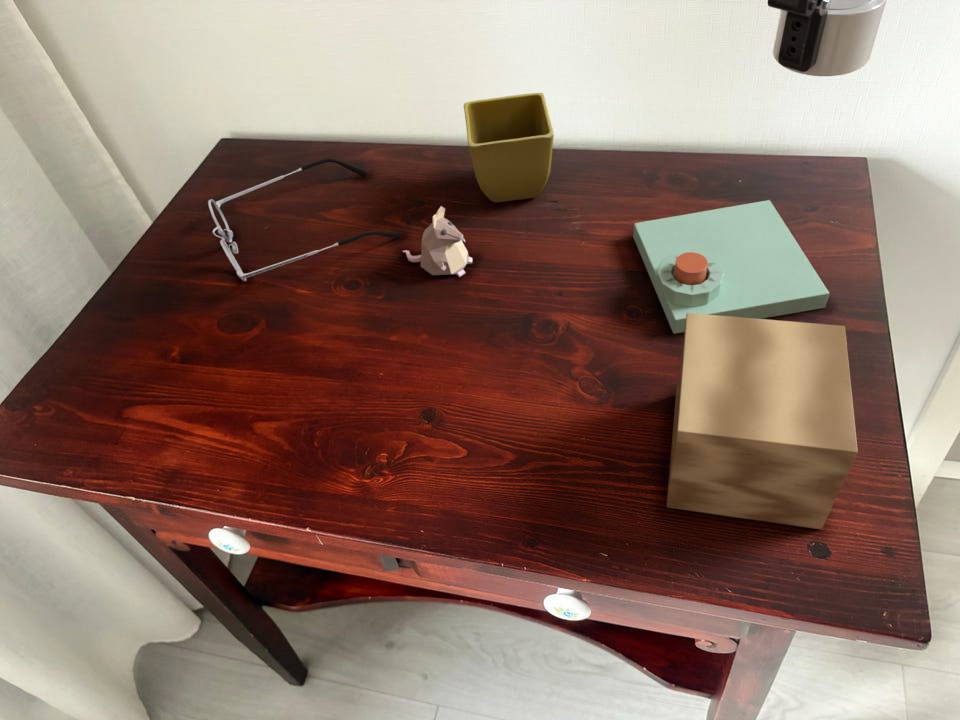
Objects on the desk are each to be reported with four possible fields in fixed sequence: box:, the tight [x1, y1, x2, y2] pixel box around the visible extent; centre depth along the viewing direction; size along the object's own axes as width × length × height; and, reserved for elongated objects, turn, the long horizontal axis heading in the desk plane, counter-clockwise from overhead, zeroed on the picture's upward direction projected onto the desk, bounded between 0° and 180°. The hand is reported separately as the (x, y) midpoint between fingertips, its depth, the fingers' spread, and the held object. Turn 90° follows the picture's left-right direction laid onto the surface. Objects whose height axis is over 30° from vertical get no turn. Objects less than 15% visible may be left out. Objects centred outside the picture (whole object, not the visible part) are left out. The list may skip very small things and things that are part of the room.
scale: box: [632, 199, 830, 335], centre depth 72 cm, size 14×14×4 cm
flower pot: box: [463, 92, 555, 203], centre depth 82 cm, size 9×9×9 cm
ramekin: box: [772, 0, 887, 77], centre depth 48 cm, size 6×6×4 cm
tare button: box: [674, 252, 708, 285], centre depth 68 cm, size 3×3×2 cm
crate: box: [666, 313, 859, 530], centre depth 55 cm, size 11×11×10 cm
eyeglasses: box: [207, 158, 404, 283], centre depth 83 cm, size 16×19×5 cm
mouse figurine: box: [402, 205, 473, 278], centre depth 76 cm, size 5×8×7 cm, turn 64°
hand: (823, 44), depth 49 cm, fingers closed on ramekin, 6 cm apart
